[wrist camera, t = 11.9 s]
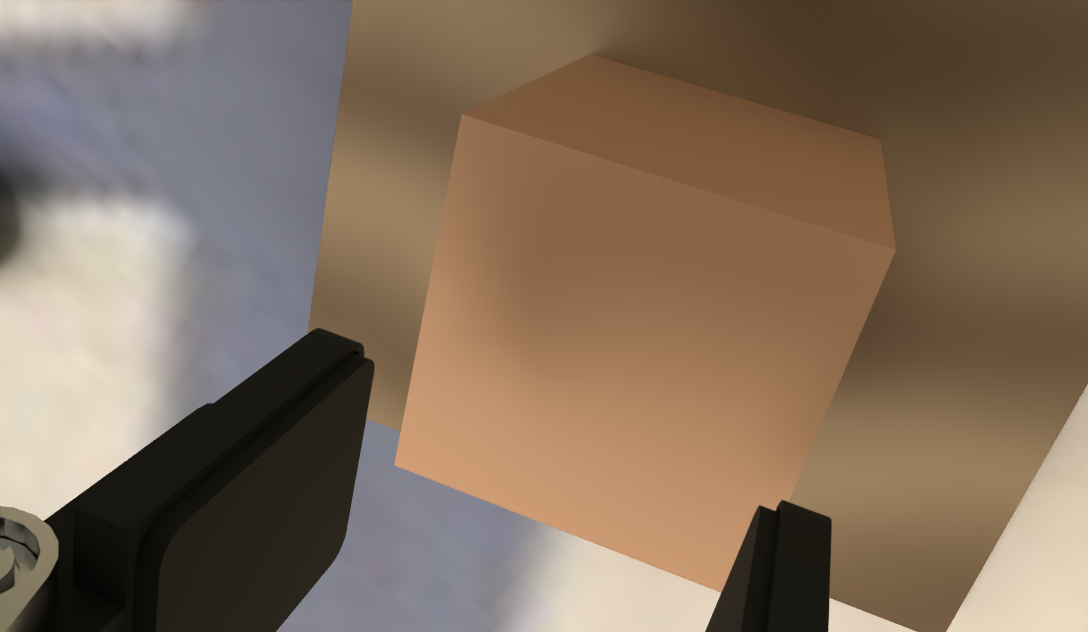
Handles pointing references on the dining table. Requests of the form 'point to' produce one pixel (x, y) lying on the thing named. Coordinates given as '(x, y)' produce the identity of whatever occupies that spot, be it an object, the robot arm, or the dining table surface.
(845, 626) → the dining table surface
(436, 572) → the dining table surface
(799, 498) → the post stand
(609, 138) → the tan cardboard box
